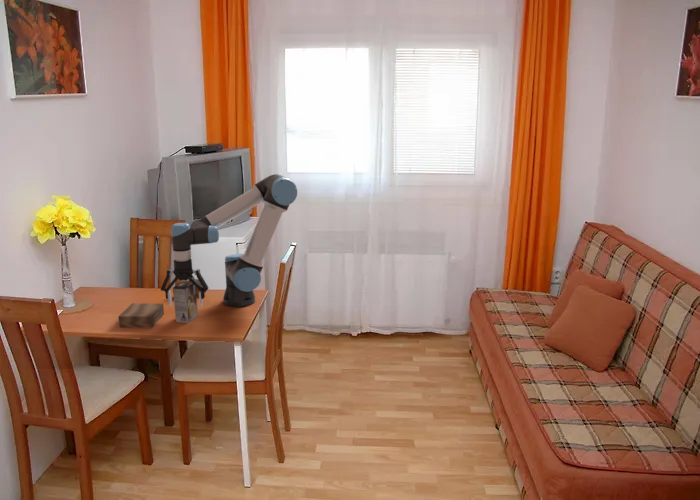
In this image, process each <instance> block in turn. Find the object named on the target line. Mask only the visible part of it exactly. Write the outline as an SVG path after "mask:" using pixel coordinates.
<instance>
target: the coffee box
mask: <svg viewBox="0 0 700 500" xmlns="http://www.w3.org/2000/svg"><path fill="white" fill-rule="evenodd" d="M172 295H173V304H174V305H173V306H174V314H175V316H174V317H175V322H176V323H185V324H190V322H192V321H193V320H194V319H195V318H197V317H198V316H199V313H198V300H197V296H196V286H195V285H194V284H193V283H192V282H184V281H183V282H181V283H179V284H178V285H177V284H176V285H175V286H172Z"/></svg>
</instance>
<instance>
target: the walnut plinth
mask: <svg viewBox="0 0 700 500" xmlns="http://www.w3.org/2000/svg"><path fill="white" fill-rule="evenodd" d="M164 311H165V310H164V303H145V302H143V303H134V302H133V303H132V302H131V304H130V305H129V306H127V308H125V310H124V311H122V313H120V314H119V315H118V317H117V318H118V326H119V328H139V329H140V328H141V329H142V328H146V329H147V328H150V329H152V328H153V327H155V325H156V324H157V323H158V322H159V320H161V318H162V317H163V316H164V315H165V312H164Z"/></svg>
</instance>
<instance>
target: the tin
mask: <svg viewBox="0 0 700 500" xmlns="http://www.w3.org/2000/svg"><path fill="white" fill-rule="evenodd" d="M195 279H196V280H197V281H198V282H199V284H200V285H201V283H200V281H199V280H198V278H195ZM183 281H184V282H191V281H189V280H179V281H178V282H177V283H176V285H178V284H179V283H181V282H183ZM201 286H202V285H201ZM202 287H203V286H202ZM199 292H200V290H199V289H198V288H197V287H196V297H199ZM206 292H207V291H204V293H205V294H206Z"/></svg>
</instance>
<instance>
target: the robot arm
mask: <svg viewBox="0 0 700 500" xmlns="http://www.w3.org/2000/svg"><path fill="white" fill-rule="evenodd" d="M297 196H298V188H297V184H296V183H295V182H294V181H293V180H291V179H290V178H289V177H286V176H283V175H281V174H271V175H269V176H266V177H265V178H263V179H262V180H261V179H260V181H258V182H257V183H255V184H253V185H252V188H251V189H249V190H247V191H246V192H244V193H242V194H241V195H239V196H237V197H236V198H234V199H232V200H231V201H229V202H227V203H225V204H223V205H222V206H220V207H218V208H217V209H215V210H213V211H211V212H210V213H208V214H207V215H205V216H202V217H201V218H196V219H193V220H191V223H190V224H189V223H187V222H176V223H173V224H172V225H171V233H170V234H171V235H170V236H171V245H172V246H171V247H172V258H173V269H172V268H169V269H167V270H166V276H165V278H164V280H163V283H162V284H161V287H160V291H162V292H164V293H165V299H167V304H168V307H169V308H170V307H171V306H173V298H172V297H173V296H172V295H173V294H172V290H170V289H172V288H173V287H174V284H175V283H176V282H177V281H178V280H179V281H181V280H189V281H191V282H192V283H193V284H194V285H195V286H196V287H197V288H198V289H199V290H200V292H199V296H198V300H199V301H198V302H199V307H200V308H201V307H203V305H204V301H203V300H204V299H205V297H206V295H205V294H206V293H204V291H206V292H208V290H209V286H208V284H207V283H206V281H205V279H204V277H203V275H202V274H201V269H200V268H197V269H193V260H192V246H195V245H204V244H205V245H207V244H209V245H210V244H214V243H218V241H219V238H220V233H219V229H218V228H220V227H222V226H223V225H225V224H227V223H228V222H230V221H232V220H234V219H236V218H237V217H239V216H240V215H242V214H244V213H246V212H247V211H249V210H250V209H253V208H254V207H255V206H257V205H260V204H264V207H263V209H262V211H261V213H260V216H259V218H258V221H257V223H256V225H255V227H254V229H253V233H252V234H251V236H250V239H249V241H248V243H247V246H246V249H245V252H244V253H236V254H229V255H226V256H225V257H224V267H225V268H224V269H225V270H224V271H225V284H226V285H225V286H226V287H225V290H224V294H223V298H222V300H223V304H224V305H226V306H229V307H245V306H250V305H253V304H254V303H255V302H256V294H255V290H256V289H257V288H258V287H259V285H260V283H261V282H262V281H261V280H262V276H261V275H262V274H261V273H262V271H263V268H264V264H263V259H264V257H265V255H266V252H267V250H268V248H269V246H270V244H271V243H270V242H271V241H272V238H273V236H274V234H275V231H276V229H277V226H278V225H279V221H280V220H281V217H282V215H283V213H285V212H287V211H288V209H289V207H290V205H291V204H293V203H294V202H295V201H296V200H297ZM193 274H194V275H195V276H196V278H195V276H193ZM172 275H174V276H175V277H174V278H173V279H172V281H171V282H170V284H169V285H168V286H167V284H168V282H169V280H170V278H171V276H172ZM196 279H198V280H199V281H200V283H201V285H202V286H203V287H202V286H201V285H200V284H199V282H198V281H197V280H196Z"/></svg>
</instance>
